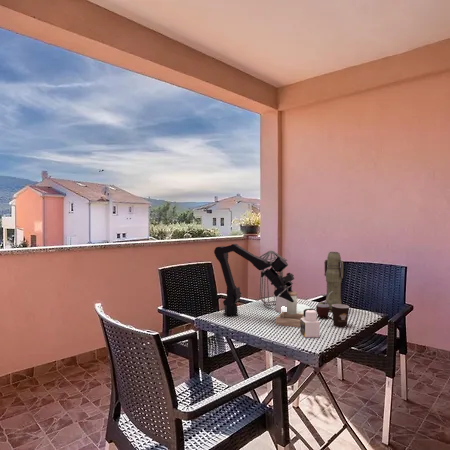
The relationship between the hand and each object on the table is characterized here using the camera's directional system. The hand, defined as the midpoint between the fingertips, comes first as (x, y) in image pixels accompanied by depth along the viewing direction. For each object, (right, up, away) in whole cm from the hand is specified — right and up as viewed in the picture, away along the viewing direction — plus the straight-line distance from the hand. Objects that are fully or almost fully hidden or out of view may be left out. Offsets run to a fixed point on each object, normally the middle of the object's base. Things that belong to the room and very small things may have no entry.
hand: (294, 300), depth 188 cm
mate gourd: (+18, -12, +11) cm, 24 cm away
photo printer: (-2, -12, +21) cm, 24 cm away
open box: (-1, -12, +1) cm, 12 cm away
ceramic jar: (-1, -7, +1) cm, 7 cm away
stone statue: (+28, -12, +26) cm, 40 cm away
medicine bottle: (+3, -12, -19) cm, 23 cm away
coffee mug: (+21, -12, -3) cm, 25 cm away
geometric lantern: (-8, -11, +34) cm, 37 cm away
